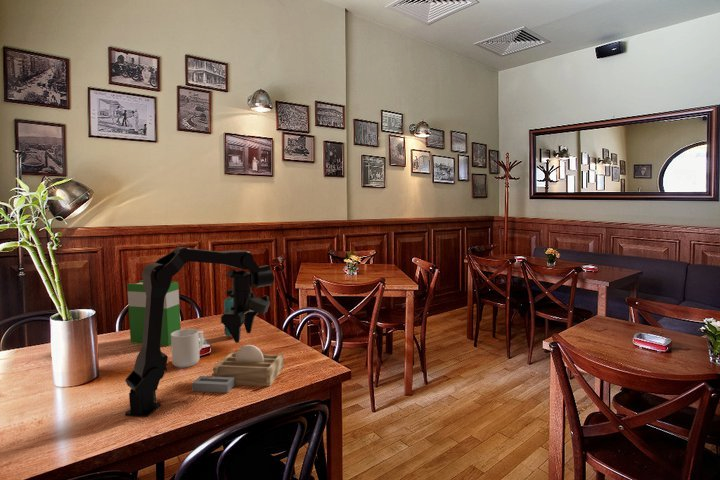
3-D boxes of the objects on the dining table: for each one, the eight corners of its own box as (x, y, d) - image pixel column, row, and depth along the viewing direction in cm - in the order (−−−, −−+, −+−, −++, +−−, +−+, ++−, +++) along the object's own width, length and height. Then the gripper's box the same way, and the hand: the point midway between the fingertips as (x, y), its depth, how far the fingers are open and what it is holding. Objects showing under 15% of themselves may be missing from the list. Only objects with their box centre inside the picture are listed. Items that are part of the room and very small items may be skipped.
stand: (227, 392, 121) (227, 384, 120) (192, 391, 122) (192, 383, 122) (234, 385, 126) (234, 377, 125) (200, 383, 127) (200, 375, 127)
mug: (184, 370, 137) (183, 338, 136) (166, 365, 141) (164, 334, 140) (212, 358, 148) (210, 328, 146) (194, 354, 151) (193, 324, 150)
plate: (263, 373, 132) (261, 346, 131) (236, 372, 133) (234, 345, 132) (264, 371, 133) (262, 345, 132) (237, 371, 134) (236, 344, 133)
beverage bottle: (223, 335, 172) (221, 288, 170) (239, 333, 175) (238, 287, 173) (225, 340, 166) (223, 292, 164) (242, 338, 169) (240, 290, 167)
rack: (270, 386, 125) (269, 370, 124) (213, 383, 127) (213, 367, 126) (283, 367, 139) (283, 353, 138) (232, 365, 141) (232, 351, 140)
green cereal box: (130, 342, 164) (127, 283, 162) (144, 336, 171) (141, 280, 169) (168, 346, 160) (165, 285, 158) (181, 339, 167) (178, 281, 165)
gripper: (255, 297, 120) (256, 349, 121) (276, 284, 138) (276, 329, 139) (219, 296, 121) (220, 347, 122) (244, 283, 139) (245, 328, 141)
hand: (243, 337), depth 131 cm, fingers open, 9 cm apart
